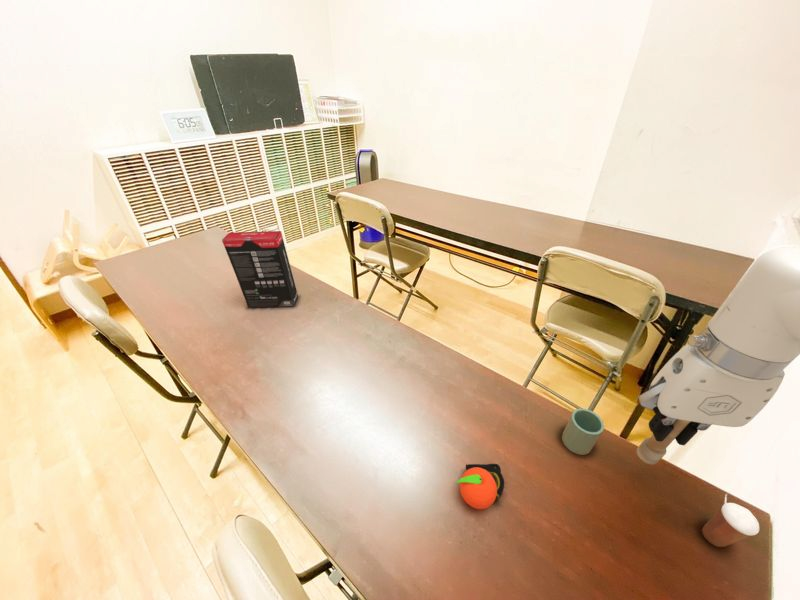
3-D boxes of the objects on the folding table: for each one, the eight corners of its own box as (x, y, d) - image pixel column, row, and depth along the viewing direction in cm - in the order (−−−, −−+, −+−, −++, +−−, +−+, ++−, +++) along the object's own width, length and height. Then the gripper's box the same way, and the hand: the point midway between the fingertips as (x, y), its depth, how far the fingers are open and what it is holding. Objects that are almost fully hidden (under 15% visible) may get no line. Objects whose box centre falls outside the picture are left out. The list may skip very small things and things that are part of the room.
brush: (661, 459, 52) (702, 416, 45) (650, 468, 51) (690, 426, 44) (643, 443, 54) (678, 400, 47) (632, 452, 53) (666, 409, 46)
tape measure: (497, 469, 67) (500, 460, 65) (505, 506, 62) (508, 497, 60) (464, 469, 68) (466, 460, 65) (469, 505, 62) (471, 497, 60)
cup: (597, 446, 70) (610, 426, 66) (578, 459, 68) (590, 439, 64) (574, 424, 75) (584, 404, 70) (555, 436, 73) (565, 415, 68)
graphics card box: (300, 296, 120) (281, 228, 104) (295, 307, 114) (275, 237, 98) (254, 298, 120) (228, 230, 104) (247, 310, 114) (219, 240, 98)
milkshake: (704, 513, 60) (735, 488, 54) (736, 546, 56) (774, 523, 50) (686, 522, 59) (716, 498, 53) (717, 556, 55) (754, 535, 49)
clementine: (454, 514, 61) (457, 498, 57) (451, 476, 66) (454, 459, 62) (497, 516, 60) (503, 500, 56) (490, 477, 66) (496, 460, 62)
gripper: (677, 363, 36) (615, 448, 47) (851, 385, 33) (742, 469, 45) (650, 320, 42) (601, 404, 53) (797, 336, 39) (712, 421, 50)
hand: (665, 433), depth 49 cm, fingers closed on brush, 2 cm apart
